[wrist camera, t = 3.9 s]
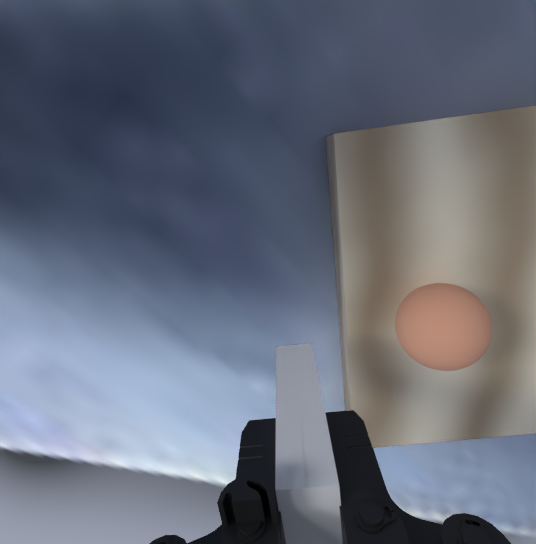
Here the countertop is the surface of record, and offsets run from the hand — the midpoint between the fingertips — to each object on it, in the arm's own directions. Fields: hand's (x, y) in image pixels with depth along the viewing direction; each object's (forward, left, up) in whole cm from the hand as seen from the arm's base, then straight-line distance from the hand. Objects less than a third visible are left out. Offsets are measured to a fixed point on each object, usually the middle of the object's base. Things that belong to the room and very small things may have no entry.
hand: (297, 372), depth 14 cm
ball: (+7, 0, -4) cm, 8 cm away
